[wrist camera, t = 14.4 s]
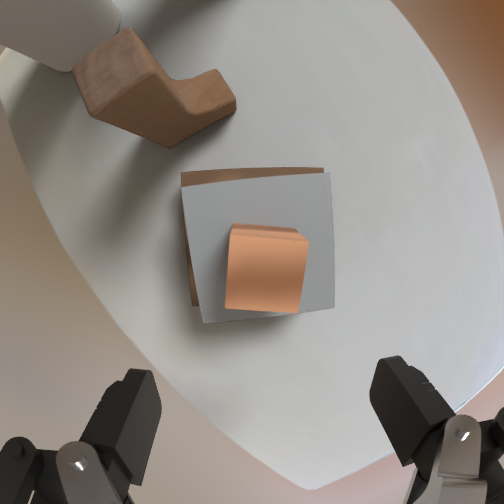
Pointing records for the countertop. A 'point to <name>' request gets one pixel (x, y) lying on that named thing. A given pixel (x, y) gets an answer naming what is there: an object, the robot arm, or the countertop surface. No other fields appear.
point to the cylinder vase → (57, 29)
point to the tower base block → (229, 175)
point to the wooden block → (148, 92)
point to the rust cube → (265, 268)
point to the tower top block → (268, 214)
